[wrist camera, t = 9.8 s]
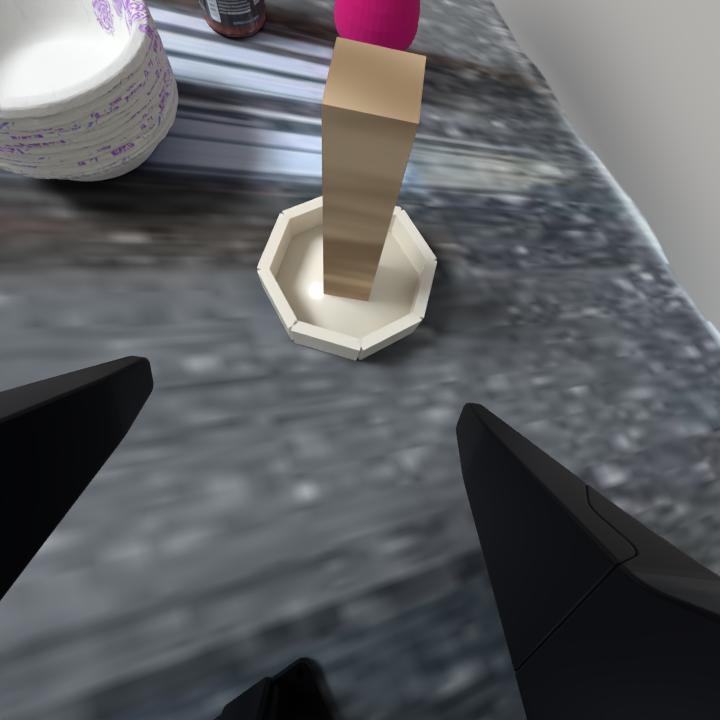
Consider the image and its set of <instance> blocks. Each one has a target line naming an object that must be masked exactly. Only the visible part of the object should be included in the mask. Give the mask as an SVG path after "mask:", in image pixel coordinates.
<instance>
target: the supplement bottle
mask: <svg viewBox="0 0 720 720" xmlns="http://www.w3.org/2000/svg"><path fill="white" fill-rule="evenodd" d="M199 3H200V6H201V9H202V12H203V15H204V18H205V20H206V22H207V23H208V24H209V26H210V27H211V28H212V29H214V30H215V31H217V32H219V33H221V34H223V35H226V36H229V37H247V36H251V35H252V34H254V33H256V32H258V30H260V29H261V27H262V26H263V24H264V22H265V17H266V15H265V4H264V0H199Z"/></svg>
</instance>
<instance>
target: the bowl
mask: <svg viewBox="0 0 720 720" xmlns="http://www.w3.org/2000/svg"><path fill="white" fill-rule="evenodd" d="M400 210H401V207H397V206H395V208H394V212H393V215H392V219H391V222H390V226H389V229H388V233H387V236H386V240H385V243H384V247H383V250H382V254H381V257H380V261H379V264H378V268H377V271H376V275H375V278H374V282H373V285H372V289H371V292H370V296H369V299H368V301H362V300H356V299H350V298H345V297H339V296H333V295H327V294H323V199H322V196H321V197H318V198H316V199H313V200H311V201H308V202H305V203H303V204H300V205H297V206H295V207H292V208H290V209H287V210H284V211H282V213H283V214H279V217H278V219H277V222H276V224H275V226H274V229H273V231H272V233H271V236H270V238H269V240H268V243H267V245H266V248H265V250H264V252H263V255H262V257H261V259H260V262H259V264H258V266H257V269H258V271H257V272H258V275H259V277H260V280H261V283H262V285H263V288H264V290H265V292H266V294H267V295H268V297H269V299H270V301H271V303H272V305H273V307H274V308H275V310H276V312H277V314H278V316H279V318H280V320H281V322H282V323H283V325H284V327H285V329H286V331H287V333H288V335H289V336H290V338H291V340H294V343H297V344H301V345H304V346H307V347H311V348H314V349H318V350H321V351H324V352H328V353H331V354H335V355H338V356H341V357H345V358H348V359H352V360H355V361H356V360H357V357H358V359H359V361H360V360H362V359H363V358H365V357H367V356H369V355H371V354H373V353H375V352H377V351H379V350H381V349H383V348H385V347H386V346H388V345H390V344H392V343H394V342H396V341H398V340H400V339H402V338H404V337H406V336H408V335H409V334H411V333H413V332H414V331H415V329H416V328H417V326H418V325H419V324H420V322H421V321H422V320H423V318H424V315H425V311H426V307H427V303H428V298H429V294H430V290H431V286H432V281H433V277H434V273H435V269H436V265H437V261H435V260H436V259H437V258H436V257H435V255H434V254H433V252H432V251H431V249H430V248H429V246H428V245H427V243H426V242H425V240H424V239H423V237H422V236H421V234H420V233H419V231H418V230H417V228H416V227H415V225H414V224H413V223H412V221H411V220H410V218H409V217H408V215H407V214H406V212H405V211H404V210H402V211H400Z"/></svg>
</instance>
